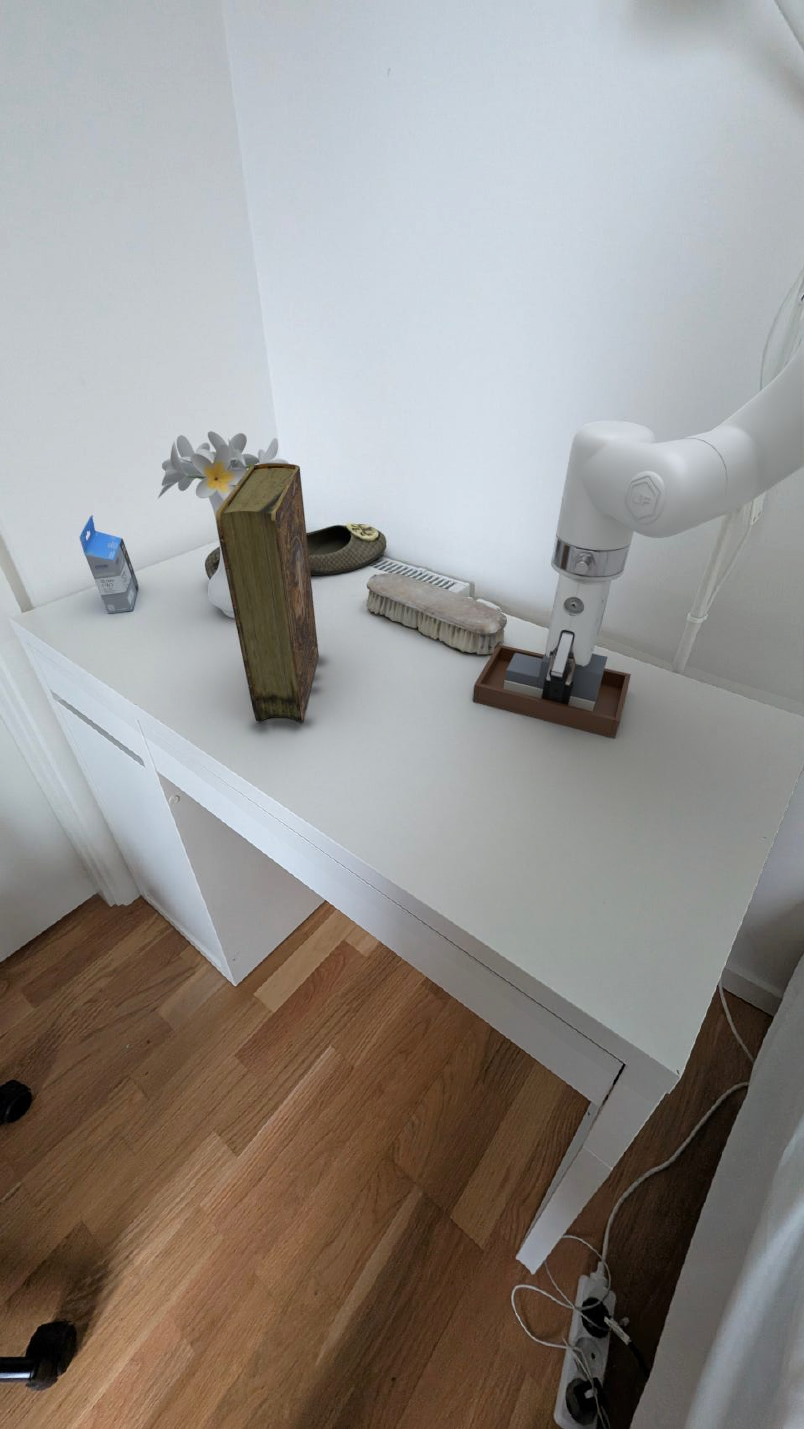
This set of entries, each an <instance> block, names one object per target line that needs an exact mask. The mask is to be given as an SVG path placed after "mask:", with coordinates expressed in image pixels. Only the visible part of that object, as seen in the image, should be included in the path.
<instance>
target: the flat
mask: <svg viewBox="0 0 804 1429" xmlns="http://www.w3.org/2000/svg"><path fill="white" fill-rule="evenodd" d="M306 535H307V544H308V554H309V564H310V574H311V576H321V575H322V576H323V575H324V576H325V575H334V574H339V573H346V572H350V571H355V570H356V569H359V568H361V567H364V566H366V565H368V564H370V563H372V562H373V561H375V560H377V558H379V557H380V556H381V555H383V553H385V551H386V550H387V541H388V540H387V538H386V536H385V534H384V533H383V532H382V531H380V530H379V529H376V528H375V527H374V526H372V525H369V524H365V523H356V522H347V523H346V524H345V525H344V524H335V525H334V524H333V525H330V526H326V527H324V528H320V529H317V530H313V531H309V532H306ZM219 561H220V545H219V546H218V547H216V548H215V549H213V550H211V552H210V553H209V554H208V555H207V557H206V558H205V561H204V569H205V573H206V576H207V577H208V579H209V580H210V579H211V577H212V576H213V575H214V573H215V572H216V571H217V569H218V566H219Z"/></svg>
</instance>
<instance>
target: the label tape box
mask: <svg viewBox="0 0 804 1429" xmlns="http://www.w3.org/2000/svg"><path fill="white" fill-rule="evenodd" d="M94 522H95V521H94V516H93V515H92V514H91V515H90V516H89V518H88V519H87V521H86V523H85V524H84V526H83V528H82V530H81V532H80V534H79V541H80V544H81V547H82V552H83V554H84V557H85V558H86V562H87V564H88V566H89V569H90V572H91V575H92V577H93V579H94V582H95V584H96V588H97V589H98V593H99V595H100V598H101V599H102V602H103V604H104V607H105V610H106V612H107V614H116V613H124V612H130V611H131V612H132V611H133V610H134V607H135V602H136V598H137V594H138V590H139V581H138V579H137V576H136V573H135V570H134V567H133V565H132V562H131V559H130V556H129V553H128V550H127V547H126V545H125V544H126V543H125V541H124V539H123V538H121V537H119V536H115V535H113V534H108V533H106V532H105V533H104V532H101V531H97V530H96V527H95V523H94ZM88 533H89V535H88ZM87 536H88V537H87Z"/></svg>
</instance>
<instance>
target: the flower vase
mask: <svg viewBox="0 0 804 1429" xmlns="http://www.w3.org/2000/svg"><path fill="white" fill-rule="evenodd" d="M247 438H248V437H247V435H246V434H244V433H243V432H239V433H237V434H234V435H233V436H232V438H231V439H229V438H227V441H228V442H226V440H225V439H224V438H223V437H222V436H221V435H220V434H219V433H217V432H215V431H212V430H209V431H208V432H207V439H208V440H209V442H203V443H201V444H199V445H198V446H197V448H196V450H194V448H193V446H192V444H191V442H190V441H189V438H187V436H185V435H182V434H180V435H178V436H177V438H176V441H173V443H172V445H171V450H170V457H169V458H168V459H165V460H164V461H163V462H162V464H161V469H163V471H165V472H164V475H163V478H162V481H161V487H162V488H161V490H160V492H159V494H158V497H157V499H160V498H161V497H162V496H163V495H164V494H165V493H166V492H167V491H168V490H169V489H171V488H172V487H174V486H175V485H176V484H177V488H178V490H179V491H180V492H184V491H186V490H187V489H188V488H189V487H190V486H191V485H192V483H193V481H194V480H195V479H198V480H200V481H199V482H198V483H197V485H196V488H195V495H196V496H197V497H198V499H208V500H209V502H210V505H211V508H212V512H213V515H214V519H215V521H216V512H217V510H218V509H219V508H220V506H221V505H222V504H223V502H224V501H225V500H226V498H227V497H228V496H229V494H230V493H231V492H232V490H233V489H234V488H235V486H236V485H237V484H238V482H239V481H240V480H241V478H242V477H243V476H244V474H245V473H246V471H247V470H248V469H249V467H250V466H253V465H258V464H266V463H285V464H290V463H289V462H288V460H286V459H284V458H276V456H277V454H278V450H279V441H278V438H273V439H272V440H271V442H270V444H269V446H268V448H267V449H266V451H265V450H264V449H262V448H260V449H259V450H258V452H257V456H255V455H254V454H250V453H243V452H244V450H245V448H246V446H247V442H248V439H247ZM175 442H176V443H175ZM209 443H210V444H211V445H210V444H209ZM227 443H228V444H227ZM211 446H212V447H213V449H214V450H215V451H210V450H211ZM215 524H216V525H215V526H217V523H216V522H215ZM216 531H217V533H218V530H217V529H216ZM217 537H218V539H219V535H218V534H217ZM218 545H219V546H220V541H219V540H218ZM207 597H208V599H209V601H210V602H211V603H212V604H213V605H214V606H215V607H216V608H218V609H219V610H221V611H222V613H223V614H224V615H225V616H226V617H228V618H231V619H235V617H234V612H233V606H232V601H231V596H230V591H229V586H228V581H227V576H226V571H225V566H224V561H223V556H222V551H221V546H220V561H219V566H218V569H217V571H216V572H215V573H214V575H213V576H212V577H211V579H209V581H208V584H207Z"/></svg>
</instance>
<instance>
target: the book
mask: <svg viewBox="0 0 804 1429" xmlns="http://www.w3.org/2000/svg"><path fill="white" fill-rule="evenodd" d="M302 486H303V485H302V476H301V467H300V465H297V464H294V463H293V464H292V463H289V464H285V463H266V464H259V463H258V464H255V465H253V466H250V467H249V468H248V469H247V471H246V473H245V474H244V476H243V477H242V478H241V480H240V481H239V482H238V484H237V485H236V486H235V488H234V489H233V490H232V492H231V493H230V494H229V496H228V497H227V498H226V500H225V501H224V502H223V504H222V505H221V506H220V508H219V509H218V510H217V512H216V520H215V524H216V523H217V525H216V531H217V530H218V532H217V536H218V535H219V538H218V542H219V541H220V545H219V546H221V551H222V556H223V561H224V566H225V571H226V576H227V581H228V586H229V591H230V596H231V601H232V606H233V612H234V617H235V618H234V621H235V622H234V623H235V626H236V631H237V637H238V641H239V646H240V651H241V656H242V662H243V666H244V671H245V672H244V673H245V677H246V682H247V686H248V687H247V688H248V691H249V697H250V701H251V702H250V703H251V707H252V712H253V716H254V719H255V721H256V722H261V721H264V720H266V719H267V720H268V719H270V718H288V719H293V720H295V721H298V722H299V723H303V722H305V721H304V720H305V717H306V713H307V709H308V705H309V701H310V696H311V693H312V687H313V684H314V679H315V674H316V670H317V665H318V663H319V657H320V655H319V646H318V645H319V644H318V634H317V625H316V616H315V615H316V614H315V606H314V605H315V604H314V596H313V586H312V584H313V583H312V575H311V574H310V564H309V554H308V544H307V535H306V533H307V526H306V525H307V524H306V516H305V507H304V497H303V487H302Z"/></svg>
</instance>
